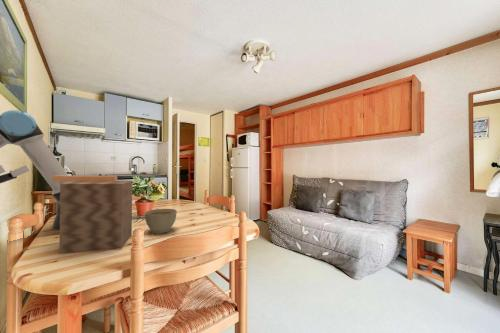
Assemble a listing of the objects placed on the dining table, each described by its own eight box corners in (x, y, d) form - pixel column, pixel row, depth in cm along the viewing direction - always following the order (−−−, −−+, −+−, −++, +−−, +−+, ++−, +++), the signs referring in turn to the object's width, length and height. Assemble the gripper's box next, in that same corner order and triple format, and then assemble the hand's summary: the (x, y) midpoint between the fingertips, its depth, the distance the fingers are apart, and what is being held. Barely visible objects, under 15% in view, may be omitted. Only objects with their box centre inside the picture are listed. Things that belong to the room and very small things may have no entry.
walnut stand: (59, 253, 86) (60, 184, 85) (80, 238, 103) (81, 180, 103) (121, 248, 92) (122, 183, 92) (131, 235, 109) (132, 180, 109)
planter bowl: (182, 228, 122) (182, 209, 122) (164, 237, 107) (164, 216, 106) (157, 225, 126) (158, 207, 126) (137, 234, 111) (137, 213, 110)
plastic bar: (52, 181, 94) (52, 175, 94) (57, 180, 97) (57, 175, 97) (114, 181, 101) (114, 176, 101) (117, 180, 104) (117, 175, 104)
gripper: (-9, 196, 98) (41, 174, 103) (-72, 206, 74) (-3, 177, 80) (-20, 182, 97) (32, 160, 102) (-87, 188, 73) (-16, 159, 78)
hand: (17, 167), depth 91 cm, fingers open, 13 cm apart
